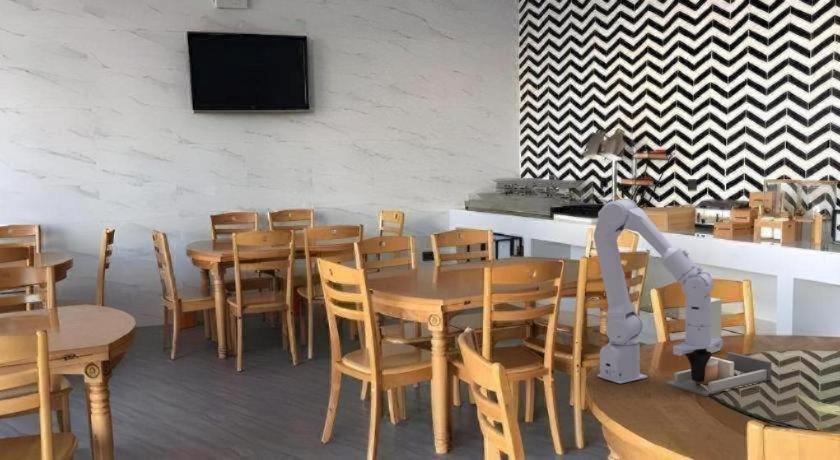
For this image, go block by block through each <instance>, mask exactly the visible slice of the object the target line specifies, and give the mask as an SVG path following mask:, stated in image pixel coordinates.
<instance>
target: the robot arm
mask: <svg viewBox="0 0 840 460" xmlns="http://www.w3.org/2000/svg"><path fill="white" fill-rule="evenodd" d="M597 215H598V216H597V217H598V218H597V222H596V225H595V228H594V233H593V242H594V246H595V248H596V249H595V250H596V253H597V259H598V263H599V268H600V272H601V277H602V281H603V285H604V290H605V294H606V299H607V304H608V307H607V310H606V315H605V316H606V320H607V321H606V322H607V323H606V328H605V333H606V336H607V338H608V339H609V342H608V343H607V344H606V345H604V346H602V347H601V349H600V351H599V373H598V374H597V377H598V378H601V379H604V380H606V381H611V382H613V383H616V384H624V383H629V382H633V381H637V380H642V379H647V378H648V375H646V374H642V373H640V365H641V364H640V362H641V361H640V338H639V335H640V334H641V333H642V331H643V326H644V325H643V321H642V320H643V319H641V317H640V316H639V315H638V313H637V311H636V309H637V308H636V306H635V305H634V304H633V303H632V302H631V298H630V295H629V290H628V286H627V281H626V277H625V272H624V267H623V264H622V259H621V254H620V249H619V244H618V240H617V239H618V238H619V236H620V235H621V234H622V233H623V231H624V230H628V231H631V232H637V233H638V234H639V235H640V236H641V237H642V238H643V239H644V240H645V241H646V242H647V243H648V244H649V245H650V246H651V247H652V248H653V249H654V250H655V251H656V252H657V253H658V254H659V255H660V257H661V261H660V262H661V265H662V266H663V267H664V268H665V269H666V271H667V272H669V274H671V276H672V277H673V278H674V279H675V280H676V281H677V282H678V284H681V285H682V286H681V290H682V293H683V294H684V296H685V311H684V312H685V313H684V314H685V322H684V323H685V330H684V331H685V332H684V333H685V334H684V335H685V338H684V339H685V340H684V341H683V342H681V343H679V344H676V345H673V346H672V353H673V355H675V356H678V357H679V356H683V355H685V356H686V358H687V360H688V361H689V364H690V369H691V376H692V381H696V382H703V381H704V378H705V367H706V364H707V362H708V360H709V359H710V357H712V353H711V352H709V351H706V349H712V348H715V347H719V348H720V347H721V348H722V347H723V338H721V339H719V338H711V298H712V294H711V293H712V291H713V290H714V287H715V284H714V279H713V277H712V276H711V274H710V273H708V272H707V271H703V268H702V267H701V266H698V265H697V264H696V263H695V262H694V261H693V259H691V258H690V256H689V255H690V253H689V252H688V251H687V250H686V249H684V250H683V249H682V248H681V247H677V246H672V244H671V243H670V242H669V240H667V238H666V237H665V236H664V235H663V234H662V233H661V231H660V229H658V227H656V225H655V224H654V223H653V221H652V220H651V219H650V218H649V217H648V215H647V214H646V213H645V211H644V210H643V209H642V208H641V207H638V205H637V204H636V202H635V201H634V200H632V199H629V198H624V199H620V200H610V201H608V202H607V203H605V204H604V205H603V207H602V208H601V209H600V210H599V211H598V213H597Z"/></svg>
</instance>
